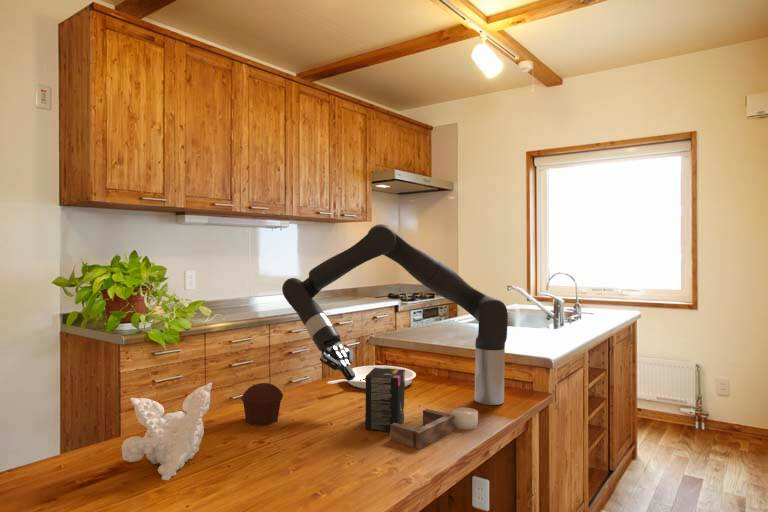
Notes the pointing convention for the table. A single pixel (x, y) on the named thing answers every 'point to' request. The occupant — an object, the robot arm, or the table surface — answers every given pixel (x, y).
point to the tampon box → (384, 398)
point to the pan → (364, 370)
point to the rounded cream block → (465, 418)
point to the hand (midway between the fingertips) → (352, 378)
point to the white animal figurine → (168, 432)
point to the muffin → (262, 404)
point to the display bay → (424, 429)
